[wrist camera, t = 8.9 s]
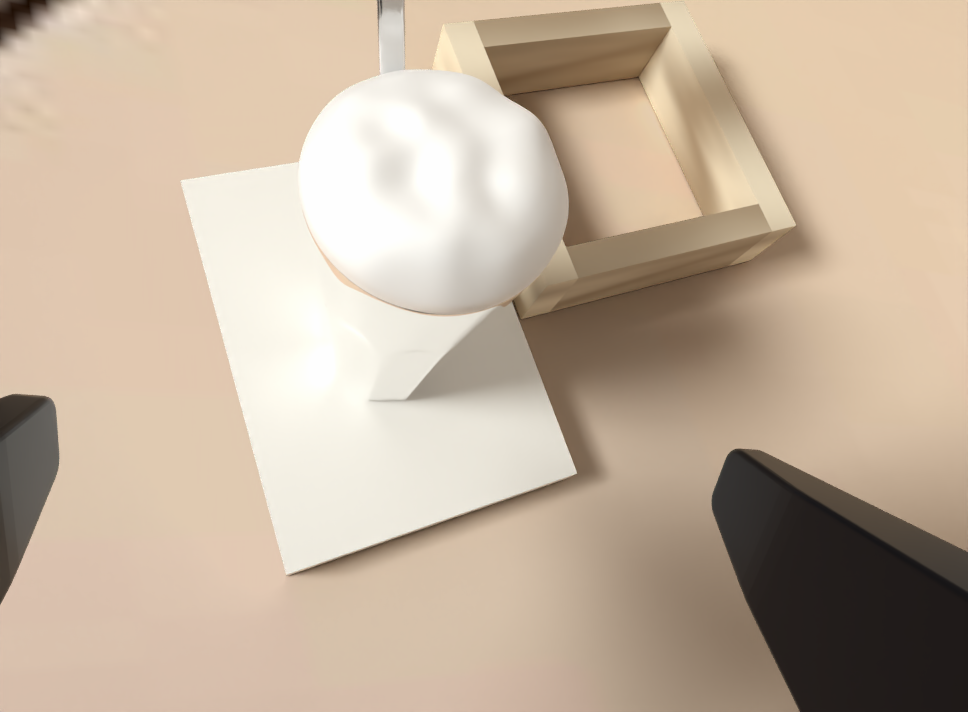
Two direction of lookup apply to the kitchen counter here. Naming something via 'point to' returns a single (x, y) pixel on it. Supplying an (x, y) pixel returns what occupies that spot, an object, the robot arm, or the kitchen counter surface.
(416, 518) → the pad
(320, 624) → the kitchen counter surface
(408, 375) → the milkshake
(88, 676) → the kitchen counter surface
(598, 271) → the holder
